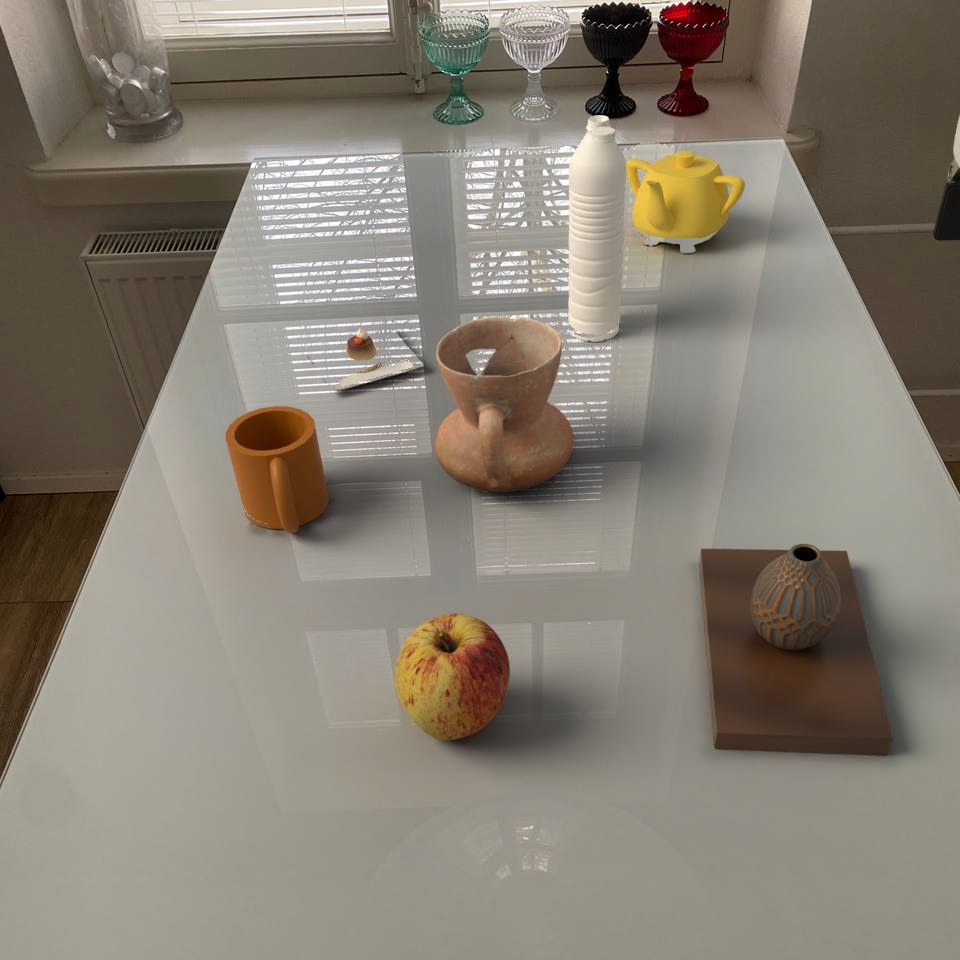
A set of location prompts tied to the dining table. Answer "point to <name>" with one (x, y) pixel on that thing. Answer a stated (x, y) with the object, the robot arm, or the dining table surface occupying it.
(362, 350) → the pudding and tray
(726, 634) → the walnut board
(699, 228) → the teapot
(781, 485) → the dining table surface
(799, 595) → the vase
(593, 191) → the water bottle
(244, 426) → the mug
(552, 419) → the ceramic jug
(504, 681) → the apple
